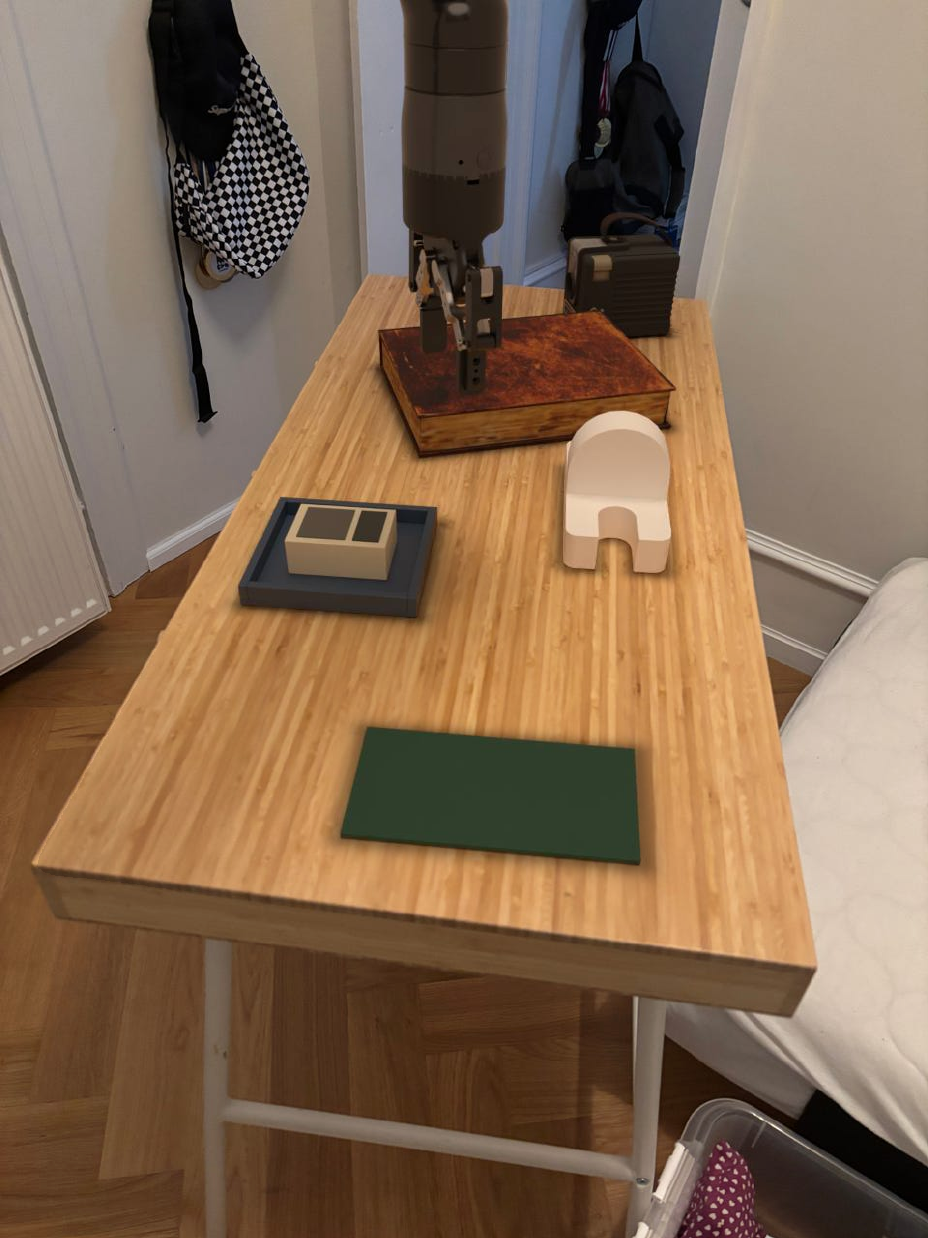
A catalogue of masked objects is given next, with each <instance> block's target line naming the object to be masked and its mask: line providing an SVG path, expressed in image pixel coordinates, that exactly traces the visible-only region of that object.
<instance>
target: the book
mask: <svg viewBox="0 0 928 1238" xmlns="http://www.w3.org/2000/svg"><path fill="white" fill-rule="evenodd" d="M488 323H489V328H490V319H488ZM464 326H465V321H464ZM478 332H479V331H478V326H477V333H478ZM377 334H378V335H377V336H378V354H379V369H380V371H381V374H382V375H383V379H384V380H385V383H386V385H387V387H388V389H389V391H390V394H391V396H392V399H393V400H394V403H395V405H396V408H397V410H398V412H399V414H400V417H401V419H402V421H403V423H404V426H405V428H406V431H407V432H408V435H409V437H410V440H411V442H412V444H413V446H414V448H415V452H416V454H417V455H418V458H419V459H422V458H423V459H424V458H431V457H432V458H433V457H440V456H448V455H455V454H466V453H474V452H482V451H491V450H498V449H499V450H500V449H507V448H508V449H509V448H517V447H524V446H533V445H542V444H549V443H558V442H566V441H568V442H569V441H572V439H573V438H574V436H575V434H576V432H577V431H578V430H579V429H580V428H581V427H582V426H583V425H584V424H585V423H586V422H587V421H589V420H591V419H593V418H594V417H596V416H598V415H601V414H604V413H607V412H613V411H628V412H633V413H638V414H640V415H642V416H644V417H646V418H648V419H650V420H651V421H652V422H653V423H654V424H656V425H657V426H658V427H659V429H660V430H661V431H662V430H668V429H671V424H670V423H669V422H668V421H667V416H668V410H669V403H670V398H671V392H676V391H677V387H676V386H675V385H674V384H673V383H672V381H670V379H668V378H667V377H666V376H665V374H663V373H662V371H661V370H660V369H659V368H658V367H657V366H656V365H655V364H654V363H653V362H652V361H651V360H650V359H649V358H648V357H647V356H646V355H645V354H644V352H643V351H641V350H640V349H639V347H637V345H636V344H634V342H632V341H631V339H630V338H629V337H626V336H625V334H624V333H623V332H622V331H621V330H620V329H619V328H618V327H617V326H616V325H615V324H614V323H613V322H612V321H611V320H610V319H609V318H608V317H607V316H606V315H605V314H604V313H603V312H602V311H601V310H596V311H585V312H574V313H563V312H562V313H553V314H541V315H531V316H519V317H508V318H507V317H506V318H502V343H501V347H500V348H498V349H489V350H486V373H485V389H484V391H483V392H481V393H479V394H472V395H466V396H463V395H461V394H460V393H459V392H458V391H457V390H456V355H457V348H458V347H457V343H456V337H455V333H454V328H453V324H452V323H447V348H446V349H445V350H444V351H443V352H437V353H429V354H426V353H424V352H423V351H422V349H421V348H420V325H418V326H407V327H396V328H395V327H394V328H384V329H378V330H377Z"/></svg>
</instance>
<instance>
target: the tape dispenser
mask: <svg viewBox="0 0 928 1238" xmlns="http://www.w3.org/2000/svg"><path fill="white" fill-rule="evenodd" d="M668 447H669V446H668V444H667V441H666V437H665V435H664V434H663V432H662V429H661V430H660V429H659V427H658V426H657V425H656V424H654V423H653V422H652V421H651V420H650V419H648V418H646V417H644V416H642V415H640V414H638V413H633V412H628V411H613V412H607V413H604V414H601V415H598V416H596V417H594V418H593V419H591V420H589V421H587V422H586V423H585V424H584V425H583V426H582V427H581V428H580V429H579V430H578V431H577V432H576V434H575V436H574V438H573V439H572V440H569V441H568V442H566V450H565V460H564V471H563V511H562V513H563V515H562V516H563V517H562V519H563V521H562V526H563V527H562V562H563V564H564V565H565V566H566V567H569V568H571V569H572V568H573V569H587V570H595V569H596V562H597V555H598V554H597V553H598V547H599V541H600V540H603V539H610V538H611V539H612V538H613V539H619V540H622V541H624V542H625V543H627V544H628V545H629V546H630V548H631V554H632V555H631V556H632V565H633V566H632V568H633V572H634V573H651V574H658V573H662V572H664V571H665V569H666V566H667V560H668V555H669V550H670V544H671V539H672V538H671V537H672V530H671V522H670V515H669V508H668V502H667V498H668V493H669V492H668V491H669V486H670V480H671V460H670V454H669V449H668Z"/></svg>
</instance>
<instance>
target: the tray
mask: <svg viewBox="0 0 928 1238" xmlns="http://www.w3.org/2000/svg"><path fill="white" fill-rule="evenodd" d="M301 504H313V505H328V506H343V507H359V508H374V509H389V510H396V522H397V544H396V548H395V551H394V555H393V559H392V562H391V566H390V570H389V573H388V577H387V580H376V579H362V578H348V577H334V576H320V575H306V574H292V573H289V570H288V563H287V555H286V548H285V539H286V537H287V535H288V532H289V530H290V528H291V525H292V523H293V521H294V519H295V516H296V514H297V512H298V509H299V507H300V505H301ZM269 517H270V518H269V519H268V522H267V523H266V526H265V528H264V530H263V532H262V534H261V535H260V538H259V541H258V542H257V545H256V547H255V549H254V550H253V553H252V555H251V557H250V559H249V561H248V563H247V565H246V568H245V570H244V572H243V574H242V576H241V578H240V580H239V583H238V584H237V590H238V595H239V600H240V605H243V606H256V607H268V608H285V609H296V610H297V609H298V610H310V611H325V612H337V613H351V614H363V615H364V614H365V615H378V616H390V617H391V616H392V617H406V618H417V617H418V613H419V609H420V604H421V599H422V596H423V590H424V586H425V582H426V577H427V573H428V568H429V564H430V559H431V555H432V550H433V546H434V541H435V536H436V532H437V529H438V506H430V505H429V506H428V505H427V506H426V505H411V504H399V503H384V502H383V503H382V502H381V503H380V502H367V501H351V500H350V501H349V500H336V499H322V498H305V497H292V496H280V497H279V499H278V500H277V502H276V505H275V507H274V508H273V511H272V513H271V515H270V516H269Z"/></svg>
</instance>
